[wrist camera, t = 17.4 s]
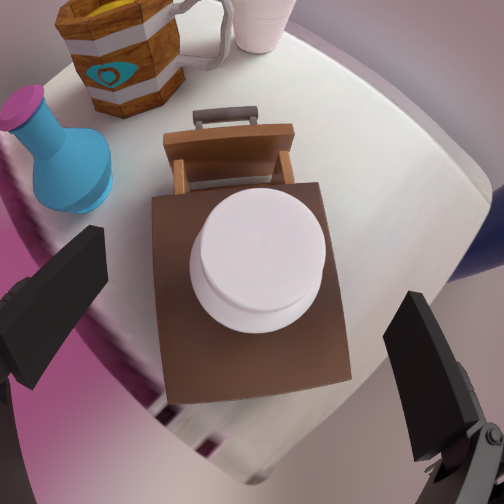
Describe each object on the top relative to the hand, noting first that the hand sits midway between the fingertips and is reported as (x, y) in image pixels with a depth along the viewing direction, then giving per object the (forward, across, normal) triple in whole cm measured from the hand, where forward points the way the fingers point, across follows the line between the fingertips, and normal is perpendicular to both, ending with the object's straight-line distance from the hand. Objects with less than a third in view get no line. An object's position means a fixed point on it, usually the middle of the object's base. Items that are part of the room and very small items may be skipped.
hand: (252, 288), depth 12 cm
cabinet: (+12, 0, -10) cm, 15 cm away
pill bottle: (+5, 0, -4) cm, 7 cm away
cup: (+37, -6, +15) cm, 41 cm away
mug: (+29, -17, +7) cm, 35 cm away
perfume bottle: (+18, -20, -4) cm, 27 cm away
